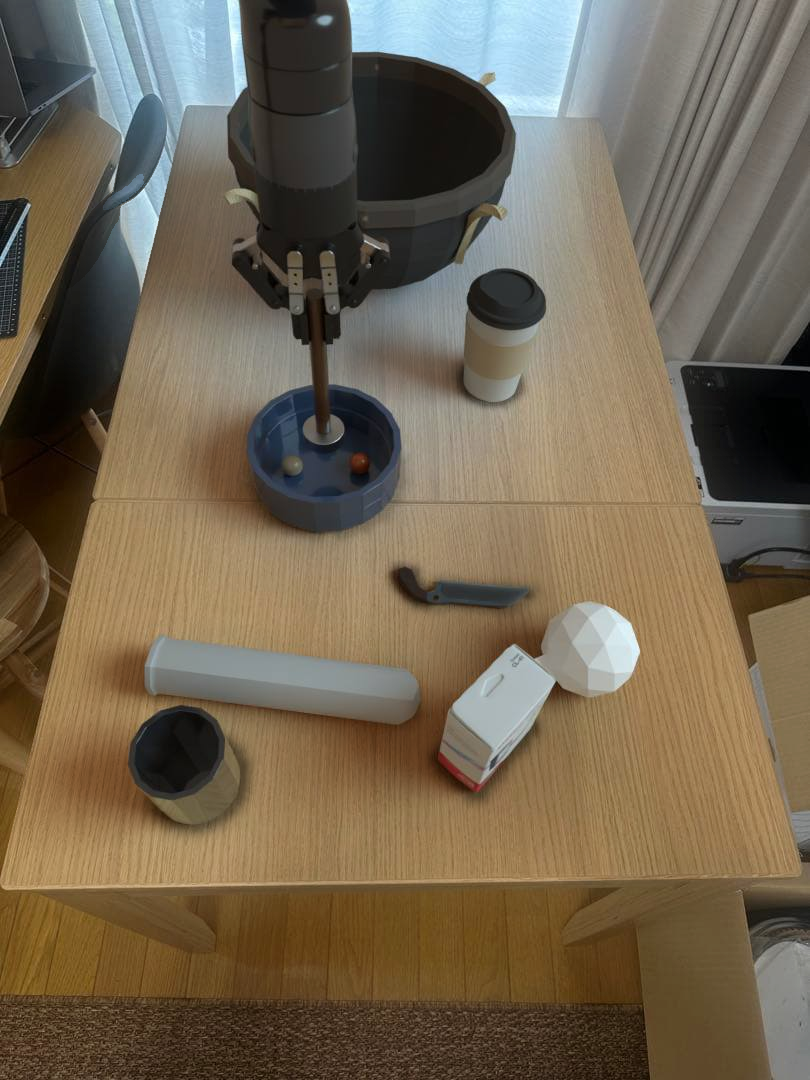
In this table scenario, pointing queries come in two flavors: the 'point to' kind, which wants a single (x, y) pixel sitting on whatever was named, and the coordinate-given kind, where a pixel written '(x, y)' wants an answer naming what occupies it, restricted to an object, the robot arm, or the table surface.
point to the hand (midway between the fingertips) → (317, 338)
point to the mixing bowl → (324, 460)
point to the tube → (280, 681)
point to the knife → (462, 592)
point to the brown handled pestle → (320, 383)
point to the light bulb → (589, 649)
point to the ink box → (493, 716)
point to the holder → (184, 764)
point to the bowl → (411, 161)
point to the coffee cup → (500, 331)
